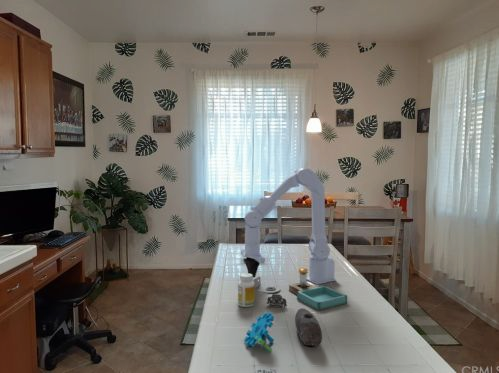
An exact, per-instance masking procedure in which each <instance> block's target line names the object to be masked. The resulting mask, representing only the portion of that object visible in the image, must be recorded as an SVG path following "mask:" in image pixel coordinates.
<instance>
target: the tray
mask: <svg viewBox="0 0 499 373" xmlns="http://www.w3.org/2000/svg"><path fill="white" fill-rule="evenodd" d="M315 287H316V288H312V289H307V290H303V291H298V292H297V294H296V299H297V300H298V301H300V302H302V303H304V304H306V305H308V306H310V307H312V308H313V309H314V310H317V311H318V312H319V311H322V310H327V309H331V308H333V307H337V306H338V307H339V306H341V305H346V304H348V295H347V294H344V293H342V292H341V291H338V290H335V289H333V288H331V287H328V286H326V285H322V286H315Z"/></svg>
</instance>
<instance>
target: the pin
mask: <svg viewBox="0 0 499 373" xmlns="http://www.w3.org/2000/svg"><path fill="white" fill-rule="evenodd" d="M308 272H309V269H307V268H304V267H301V268H298V273H299V283H300V288H306V286H307V283H308V282H307V281H308V280H307V277H308V276H307V275H308V274H309V273H308Z"/></svg>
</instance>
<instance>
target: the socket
mask: <svg viewBox="0 0 499 373" xmlns="http://www.w3.org/2000/svg"><path fill="white" fill-rule="evenodd" d="M288 287H289V288H288V291H289V292H292V293H293V294H295V295H297V292H298V291H303V290H307V289H312V288H316V287H317V286H315V285H313V284H310V283H308V282H307V286H306V288H300V282H296V283H292V284H289V285H288Z"/></svg>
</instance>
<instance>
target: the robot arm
mask: <svg viewBox="0 0 499 373" xmlns="http://www.w3.org/2000/svg"><path fill="white" fill-rule="evenodd" d="M300 185H301V186H303V187H305V188H306V189H307V190H308V191H309V192H310V194H311V203H310V204H311V234H310V241H309V243H308V249H309V251H310V254H309V255H308V256H309V259H308V260H309V263H308V266H309V268H308V272H309V273H308V276H307V281H308V282H311V283H313V284H316V285H321V284H325V283H330V282H335V281H336V280H337V279H336V278H335V272H336V270H335V266H336V265H335V260H334V258H333V257H332V256H330V254H331V250H330V247H329V244H328V237H327V235H326V204H325V201H326V200H325V197H326V196H325V186H324V184H323V183H322V181H321V180H320V178H319V176H318V174H317V173H316V172H315V171H313V170H311V169H310V168H305V167H298V168H296V170H294V172H292V173H291V174H289V175H288V177H286V178H285V179H284V180H282V182H281V183H280V185H279V186H277V188H276V189H275V190H274V191H273V192H272V193H271V194H270V195H265V196H263V197H262V196H261V197H259V199H258V200H259V201H258V202H257V203H256V204H255V205H254V206H251V207H250V210H248V211H246V212H245V214H244V218H243V219H244V221H245V225H244V226H245V227H244V229H245V231H244V234H245V236H244V238H245V239H244V249H240V255H242V257H244V258H243V263H244V264H245V267H246V269H247V273H250V274H252V275H253V279H255V278H256V276H257V273H258V269H259V266H260V265H261V264H264V263H265V262H266V261H265V260H266V259H265V257H264V256H263V255H262V254H261V236H260V235H261V232H260V230H261V229H260V225H261V223H262V219H265V218H266V217H267V215H269V214H270V213H271V212H272V211H273V210H274V209H275V207H276V203H277V201H278V200H280V199H281V198H282V197H283V196H284V195H285V194H286V193H287V192H288V191H290V190H291V189H293V188H296V187H297V188H298V187H300Z"/></svg>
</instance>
